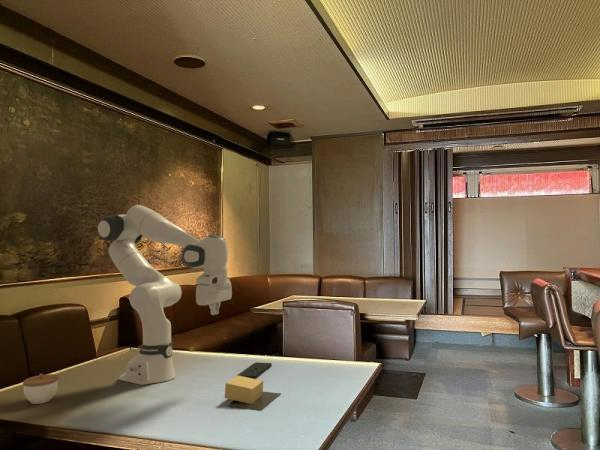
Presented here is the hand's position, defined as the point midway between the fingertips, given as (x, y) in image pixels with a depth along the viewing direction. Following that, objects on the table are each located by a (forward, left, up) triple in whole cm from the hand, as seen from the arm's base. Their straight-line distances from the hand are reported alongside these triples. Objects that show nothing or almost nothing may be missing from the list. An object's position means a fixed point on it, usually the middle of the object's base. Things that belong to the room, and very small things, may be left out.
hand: (214, 314), depth 167 cm
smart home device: (+6, +22, -28) cm, 36 cm away
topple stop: (+20, -9, -27) cm, 35 cm away
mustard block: (+12, -9, -23) cm, 28 cm away
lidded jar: (-52, -31, -27) cm, 66 cm away
